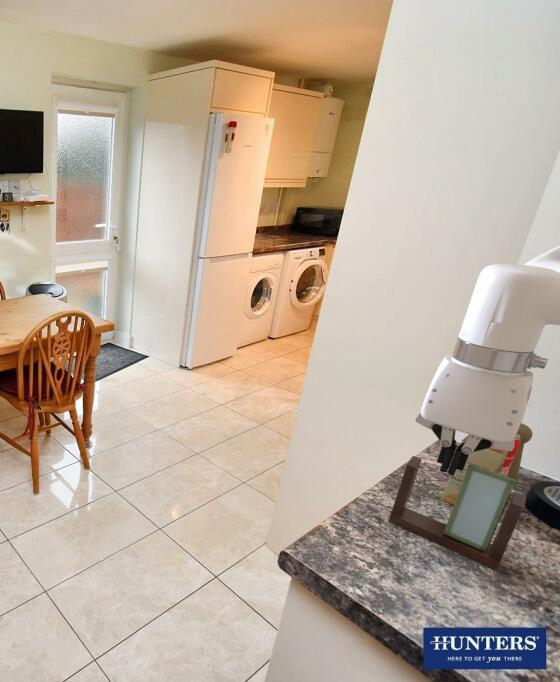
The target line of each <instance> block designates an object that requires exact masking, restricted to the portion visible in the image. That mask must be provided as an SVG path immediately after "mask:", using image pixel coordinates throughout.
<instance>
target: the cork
mask: <svg viewBox="0 0 560 682" xmlns="http://www.w3.org/2000/svg"><path fill="white" fill-rule="evenodd" d="M517 434H518V435H519V436H520V441H521V443H520V446H519V448H518V451H517V453H516V455H515V458H514V460H513V463H512V465H511V467H510V470H509V472H508V475H507V477H510V478H513V479H515V483H516V482H518V478H519V473H520V468H521V463H522V458H523V454H524V453H523V452H524V448H525V447H524V446H525V444H527V443H528V442H530V441H531V440H532V438H533V430H532V428H530V427H529V426H528V425H526V424H524V423H522V422H521V424H520V426H519V429H518V431H517Z"/></svg>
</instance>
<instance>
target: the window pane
mask: <svg viewBox="0 0 560 682" xmlns="http://www.w3.org/2000/svg"><path fill="white" fill-rule="evenodd" d="M515 484H516V482H515V479H513V478H510V477H507V476H504V475H501V474H498V473H495V472H492V471H489V470H486V469H483V468H480V467H477V466H474V465H471V464H469V466H468V469H467V472H466V474H465V477H464V480H463V482H462V485H461V488H460V490H459V493H458V496H457V498H456V501H455V504H454V505H453V506H452V508H451V512H450V515H449V516H448V520H447V523H446V528H445V530H444V534H446V535H448V536H451V537H453V538H455V539H457V540H460V541H462V542H464V543H467V544H469V545H471V546H474V547H476V548H478V549H480V550H483V551H486V550H487V547H488V545H489V542H490V540H491V538H492V539H493V537H492V535H493V533H494V534H495V532H496V530H495V528H496V526H497V527H498V525H497V523H498V521H499V519H500V520H501V518H500V516H501V514H502V515H503V513H504V511H503V509H504V507H505V508H506V506H505V504H506V502H507V500H508V501H509V499H508V497H509V495H510V496H511V494H512V491H513V488H514V485H515ZM510 493H511V494H510ZM509 498H510V497H509ZM507 503H508V502H507ZM506 505H507V504H506ZM504 510H505V509H504ZM502 512H503V513H502ZM501 517H502V516H501ZM499 522H500V521H499ZM498 524H499V523H498ZM496 529H497V528H496ZM494 531H495V532H494ZM493 536H494V535H493ZM491 541H492V540H491ZM490 543H491V542H490Z"/></svg>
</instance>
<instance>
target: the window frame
mask: <svg viewBox="0 0 560 682" xmlns="http://www.w3.org/2000/svg"><path fill="white" fill-rule="evenodd" d="M422 460H423V459H422V458H421V457H418V456H415V455H412V456H411V457H410V459H409V461H408V462H407V463H406V465H405V469H404V472H403V475H402V478H401V481H400V483H399V487H398V490H397V493H396V496H395V499H394V503H393V505H392V509H391V512H390V515H389V518H388V523H391V524H392V525H395V526H398V527H400V528H402V529H404V530H406V531H408V532H410V533H413V534H415V535H417V536H419V537H421V538H424V539H426V540H428V541H430V542H433V543H435V544H437V545H439V546H441V547H444V548H446V549H448V550H451V551H452V552H455V553H456V554H459V555H460V556H463V557H466V558H468V559H470V560H471V561H474V562H477V563H478V564H481V565H483V566H486V567H488V568H490V569H492V570H494V571H497V570H498V568H499V566H500V563H501V561H502V559H503V556H504V554H505V552H506V549H507V548H508V545H509V543H510V541H511V539H512V536H513V533H514V531H515V529H516V527H517V524H518V522H519V520H520V518H521V515H522V513H523V511H524V508H525V504H526V498H527V495H525V494H523V493H520V492H517V491H514V492H513V494H512V492H511V493H510V495H509V497H508V500H507V502H506V504H505V507H504V509H503V512H502V514H501V516H500V519H499V521H498V523H497V526H496V528H495V531H494V533H493V535H492V538H491V540H490V542H489V545H488V547H487V550H486V551H483V550H480V549H478V548H476V547H474V546H471V545H469V544H467V543H464V542H462V541H460V540H457V539H455V538H453V537H451V536H448V535H446V534H444V530H445V528H446V525H447V523H446V524H445V523H443V522H441V521H439V520H436V519H434V518H432V517H429V516H427V515H424V514H422V513H420V512H417V511H415V510H413V509H411V508H409V507H408V508H407V506H408V502H409V499H410V496H411V493H412V491H413V487H414V484H415V482H416V478H417V476H418V472H419V469H420V465H421V463H422ZM511 494H512V496H511ZM510 497H511V499H510ZM509 500H510V501H509ZM508 501H509V504H508ZM507 504H508V505H507ZM506 507H507V508H506ZM505 508H506V510H505ZM504 511H505V513H504ZM503 513H504V516H503ZM502 516H503V518H502ZM501 518H502V520H501ZM500 521H501V522H500ZM499 523H500V525H499ZM498 526H499V528H498V530H497V527H498ZM496 530H497V532H496ZM495 533H496V535H495ZM494 535H495V537H494ZM493 537H494V539H493ZM492 539H493V541H492ZM491 542H492V543H491Z"/></svg>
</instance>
